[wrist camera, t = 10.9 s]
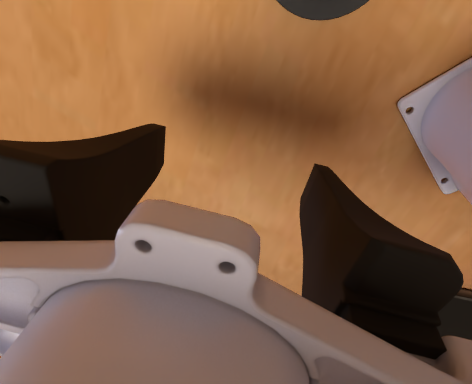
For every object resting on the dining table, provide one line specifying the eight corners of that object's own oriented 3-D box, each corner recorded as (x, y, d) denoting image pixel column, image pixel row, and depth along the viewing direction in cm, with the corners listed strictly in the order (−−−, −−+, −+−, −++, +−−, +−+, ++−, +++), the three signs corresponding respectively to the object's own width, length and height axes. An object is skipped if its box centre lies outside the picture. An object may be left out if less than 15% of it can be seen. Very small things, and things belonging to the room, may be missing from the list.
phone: (382, 362, 37) (444, 293, 29) (379, 353, 38) (439, 284, 30) (443, 375, 37) (525, 310, 28) (439, 366, 38) (518, 300, 29)
